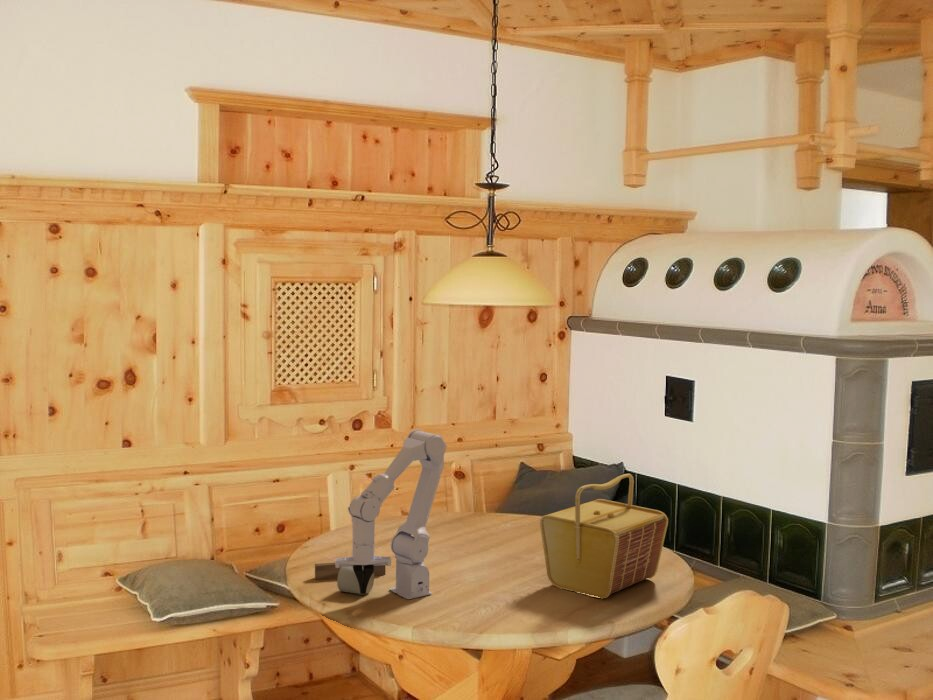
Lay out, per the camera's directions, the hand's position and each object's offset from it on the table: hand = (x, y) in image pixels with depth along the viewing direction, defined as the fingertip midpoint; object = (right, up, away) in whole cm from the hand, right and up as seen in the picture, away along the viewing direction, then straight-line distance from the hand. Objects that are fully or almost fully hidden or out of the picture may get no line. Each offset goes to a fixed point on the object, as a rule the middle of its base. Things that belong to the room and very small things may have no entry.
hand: (362, 592), depth 264 cm
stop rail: (-6, -1, +23) cm, 23 cm away
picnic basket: (+66, -3, +21) cm, 69 cm away
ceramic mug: (-3, -2, +10) cm, 11 cm away
